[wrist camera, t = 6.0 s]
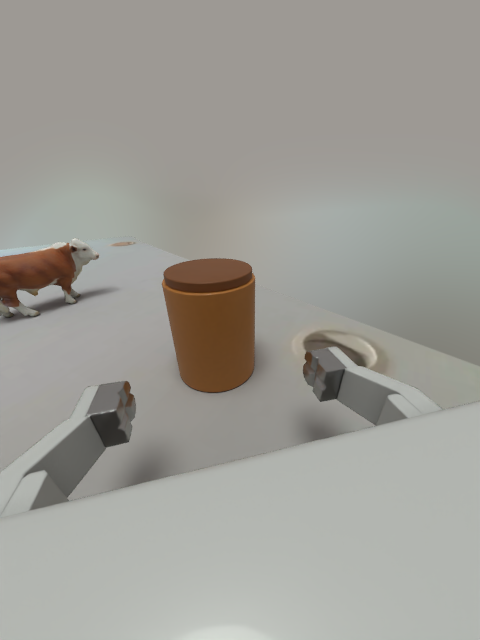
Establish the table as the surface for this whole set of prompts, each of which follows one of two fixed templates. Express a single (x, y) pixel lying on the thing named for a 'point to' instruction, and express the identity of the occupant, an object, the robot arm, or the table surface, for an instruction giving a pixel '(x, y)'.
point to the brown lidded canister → (212, 321)
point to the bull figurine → (42, 273)
